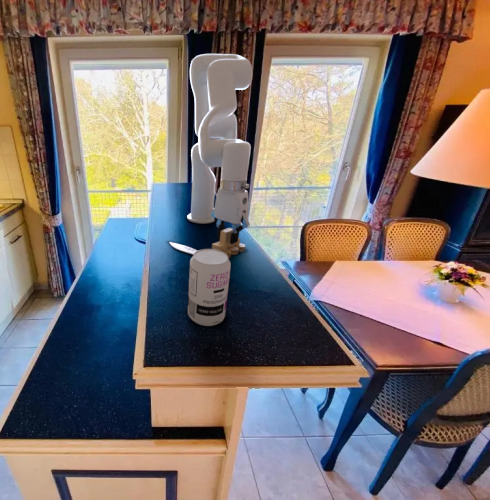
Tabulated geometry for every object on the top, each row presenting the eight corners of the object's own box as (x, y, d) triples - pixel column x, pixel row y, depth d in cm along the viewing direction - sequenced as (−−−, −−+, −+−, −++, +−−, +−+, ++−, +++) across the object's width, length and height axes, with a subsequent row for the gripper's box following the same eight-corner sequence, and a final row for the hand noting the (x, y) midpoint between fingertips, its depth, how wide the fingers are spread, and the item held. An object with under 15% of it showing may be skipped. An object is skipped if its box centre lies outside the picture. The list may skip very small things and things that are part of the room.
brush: (231, 243, 98) (233, 225, 95) (239, 246, 96) (241, 227, 93) (211, 252, 92) (213, 232, 89) (219, 255, 90) (220, 235, 87)
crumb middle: (232, 249, 94) (232, 245, 93) (240, 252, 92) (240, 248, 91) (226, 252, 92) (226, 248, 91) (234, 255, 90) (234, 251, 89)
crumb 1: (225, 252, 92) (225, 248, 91) (232, 256, 89) (233, 251, 89) (218, 255, 90) (218, 251, 89) (226, 259, 88) (226, 254, 87)
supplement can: (199, 300, 68) (203, 244, 62) (231, 314, 63) (238, 254, 57) (180, 317, 62) (182, 257, 56) (212, 333, 58) (218, 270, 51)
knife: (168, 239, 100) (188, 236, 102) (168, 244, 100) (188, 241, 102) (205, 279, 73) (231, 274, 75) (204, 284, 74) (231, 279, 76)
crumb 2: (238, 246, 96) (239, 242, 95) (246, 249, 94) (247, 245, 93) (233, 249, 94) (233, 244, 94) (241, 252, 92) (241, 248, 91)
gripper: (265, 188, 81) (256, 245, 88) (219, 179, 93) (214, 230, 100) (249, 192, 76) (241, 252, 84) (203, 182, 88) (200, 235, 96)
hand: (227, 239), depth 92 cm, fingers open, 4 cm apart
